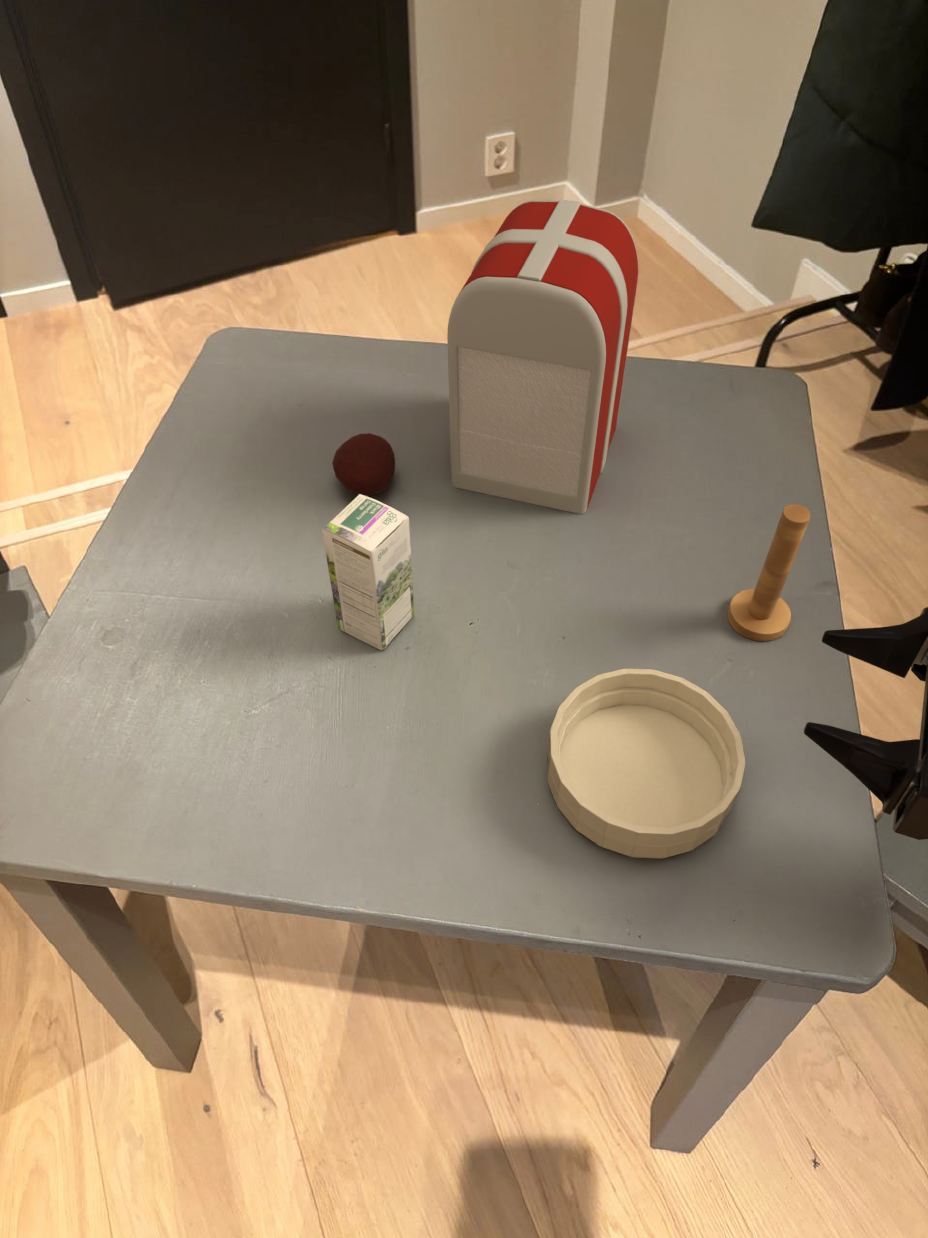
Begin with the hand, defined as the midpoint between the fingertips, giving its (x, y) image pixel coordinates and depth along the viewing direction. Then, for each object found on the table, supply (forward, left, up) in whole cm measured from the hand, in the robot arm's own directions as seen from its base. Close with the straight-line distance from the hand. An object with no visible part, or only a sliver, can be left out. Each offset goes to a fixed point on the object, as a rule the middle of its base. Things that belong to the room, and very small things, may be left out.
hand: (814, 679), depth 68 cm
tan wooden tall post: (+4, -18, -15) cm, 24 cm away
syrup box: (+40, -4, -15) cm, 43 cm away
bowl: (+11, +4, -15) cm, 19 cm away
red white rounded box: (+33, -35, -15) cm, 50 cm away
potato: (+50, -23, -15) cm, 57 cm away
